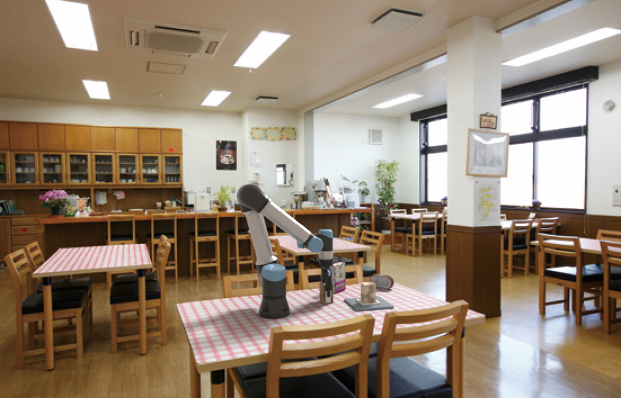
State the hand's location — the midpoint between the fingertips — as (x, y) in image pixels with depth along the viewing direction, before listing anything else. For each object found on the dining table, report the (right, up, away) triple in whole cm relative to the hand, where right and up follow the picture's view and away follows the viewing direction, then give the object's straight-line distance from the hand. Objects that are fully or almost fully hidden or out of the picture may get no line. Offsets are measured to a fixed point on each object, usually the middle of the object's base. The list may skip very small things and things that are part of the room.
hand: (326, 300), depth 219 cm
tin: (+35, 0, +28) cm, 45 cm away
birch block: (+22, +1, -5) cm, 22 cm away
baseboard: (+22, 0, -5) cm, 22 cm away
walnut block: (0, 0, 0) cm, 0 cm away
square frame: (+22, 0, -5) cm, 22 cm away
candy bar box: (+7, 0, +22) cm, 23 cm away
